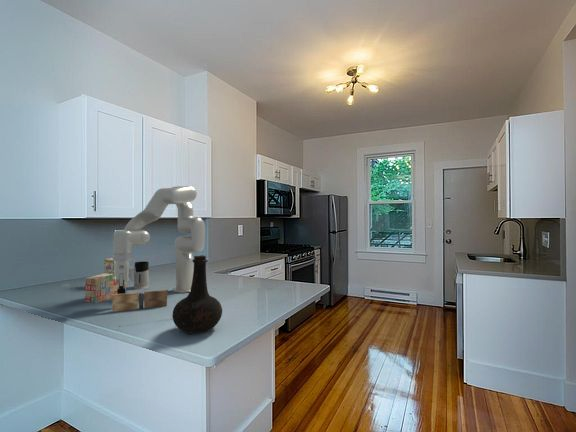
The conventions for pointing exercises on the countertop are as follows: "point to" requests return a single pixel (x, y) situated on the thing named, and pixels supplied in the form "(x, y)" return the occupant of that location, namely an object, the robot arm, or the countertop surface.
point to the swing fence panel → (125, 301)
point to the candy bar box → (109, 266)
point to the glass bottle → (197, 303)
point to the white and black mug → (140, 275)
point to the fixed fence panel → (153, 299)
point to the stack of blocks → (101, 287)
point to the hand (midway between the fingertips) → (121, 296)
